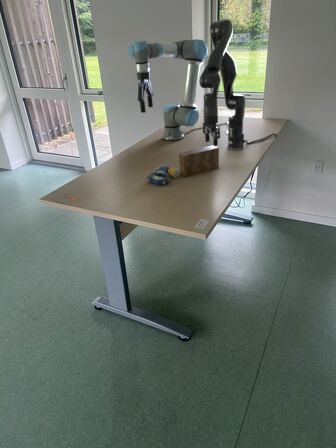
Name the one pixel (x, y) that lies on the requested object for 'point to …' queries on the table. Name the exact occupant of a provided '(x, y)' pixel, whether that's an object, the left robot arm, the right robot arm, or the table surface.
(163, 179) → the blue yellow printed carton
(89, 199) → the table surface
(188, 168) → the box
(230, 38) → the right robot arm
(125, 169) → the table surface
